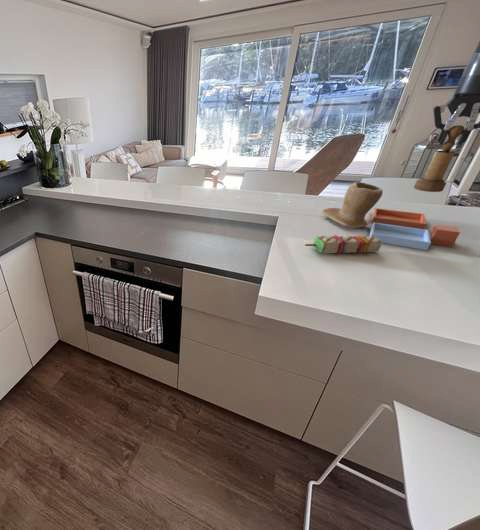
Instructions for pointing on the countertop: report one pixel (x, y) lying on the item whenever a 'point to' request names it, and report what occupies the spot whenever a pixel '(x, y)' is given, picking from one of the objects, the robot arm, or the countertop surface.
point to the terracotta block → (444, 235)
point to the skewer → (346, 244)
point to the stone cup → (355, 205)
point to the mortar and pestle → (439, 164)
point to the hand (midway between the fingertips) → (449, 144)
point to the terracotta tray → (399, 218)
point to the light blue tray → (401, 235)
